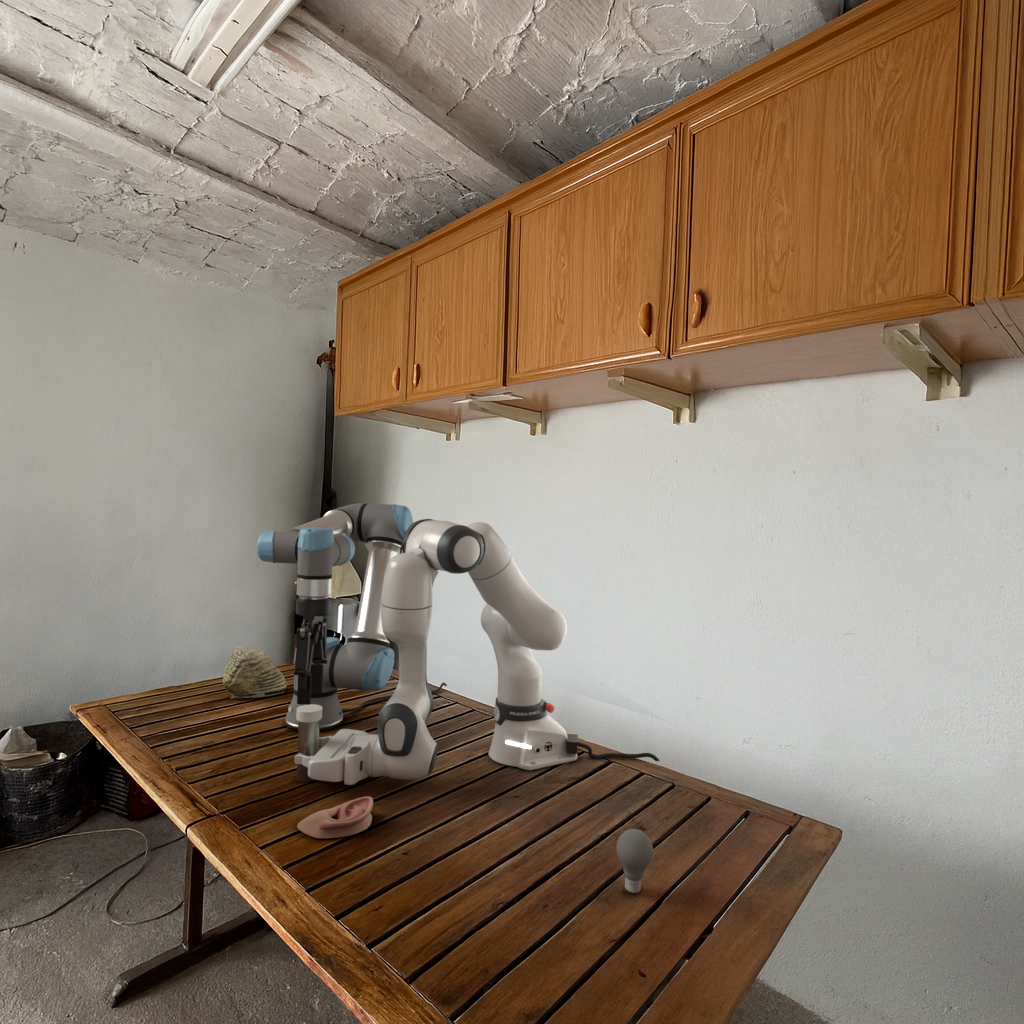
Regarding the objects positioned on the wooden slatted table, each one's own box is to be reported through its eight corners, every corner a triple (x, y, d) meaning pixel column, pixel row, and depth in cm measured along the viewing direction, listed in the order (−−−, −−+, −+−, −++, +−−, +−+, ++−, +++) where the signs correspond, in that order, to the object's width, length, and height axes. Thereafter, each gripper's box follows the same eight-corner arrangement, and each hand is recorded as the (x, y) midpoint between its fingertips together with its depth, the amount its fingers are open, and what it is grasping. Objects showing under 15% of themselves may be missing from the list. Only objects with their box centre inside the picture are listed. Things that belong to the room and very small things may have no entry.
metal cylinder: (317, 780, 141) (320, 712, 141) (296, 783, 140) (299, 714, 139) (317, 772, 145) (319, 706, 145) (296, 774, 144) (298, 707, 144)
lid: (322, 721, 140) (323, 711, 140) (296, 723, 139) (296, 713, 139) (321, 713, 146) (321, 703, 146) (296, 714, 144) (296, 705, 144)
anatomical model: (288, 812, 118) (319, 786, 130) (288, 834, 118) (318, 805, 130) (354, 823, 116) (380, 795, 127) (354, 844, 116) (379, 814, 127)
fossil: (218, 695, 195) (220, 647, 195) (278, 685, 208) (279, 640, 207) (228, 703, 189) (230, 653, 188) (289, 692, 201) (290, 645, 201)
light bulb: (610, 879, 108) (613, 822, 108) (644, 879, 109) (647, 822, 109) (619, 902, 102) (622, 840, 102) (655, 901, 103) (658, 840, 103)
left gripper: (312, 589, 152) (308, 684, 152) (279, 603, 132) (275, 712, 132) (343, 591, 152) (339, 685, 152) (315, 605, 131) (311, 714, 132)
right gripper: (378, 724, 152) (322, 720, 153) (350, 758, 131) (285, 753, 132) (377, 750, 152) (321, 746, 153) (348, 789, 131) (284, 783, 132)
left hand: (310, 698), depth 142 cm, fingers open, 7 cm apart
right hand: (304, 749), depth 142 cm, fingers open, 8 cm apart
